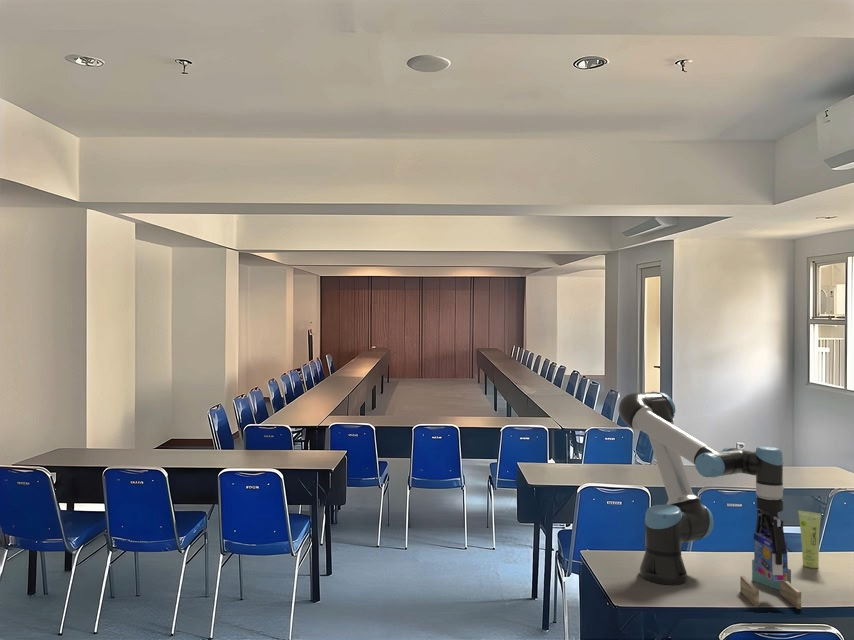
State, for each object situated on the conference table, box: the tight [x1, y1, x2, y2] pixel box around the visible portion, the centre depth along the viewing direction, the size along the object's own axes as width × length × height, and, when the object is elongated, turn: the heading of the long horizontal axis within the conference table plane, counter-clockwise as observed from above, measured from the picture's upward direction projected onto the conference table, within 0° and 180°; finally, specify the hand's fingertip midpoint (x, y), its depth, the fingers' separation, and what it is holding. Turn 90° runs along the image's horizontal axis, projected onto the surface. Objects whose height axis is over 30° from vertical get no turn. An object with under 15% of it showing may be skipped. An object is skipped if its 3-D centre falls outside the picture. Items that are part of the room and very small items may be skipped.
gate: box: [751, 558, 792, 591], centre depth 217 cm, size 13×1×8 cm, turn 29°
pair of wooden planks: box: [739, 575, 802, 610], centre depth 206 cm, size 13×12×5 cm
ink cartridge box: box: [753, 528, 789, 581], centre depth 206 cm, size 10×6×14 cm, turn 5°
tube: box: [797, 509, 822, 569], centre depth 238 cm, size 6×5×20 cm
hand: (770, 568), depth 206 cm, fingers closed on ink cartridge box, 10 cm apart
